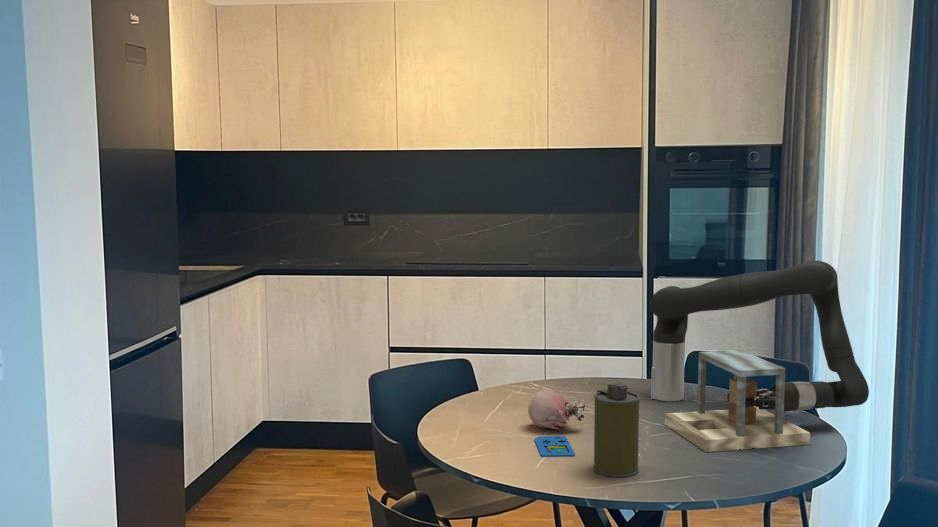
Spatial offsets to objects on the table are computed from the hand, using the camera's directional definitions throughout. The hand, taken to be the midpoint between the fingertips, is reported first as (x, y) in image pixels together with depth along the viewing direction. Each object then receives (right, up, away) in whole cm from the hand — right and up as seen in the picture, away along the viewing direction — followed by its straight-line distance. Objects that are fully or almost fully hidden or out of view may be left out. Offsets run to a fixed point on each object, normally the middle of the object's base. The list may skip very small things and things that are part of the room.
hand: (733, 400), depth 237 cm
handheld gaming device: (-47, -11, -9) cm, 49 cm away
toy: (-45, -9, +7) cm, 46 cm away
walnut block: (+3, -6, +1) cm, 7 cm away
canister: (-35, -12, -26) cm, 45 cm away
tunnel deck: (+2, -9, +1) cm, 9 cm away
